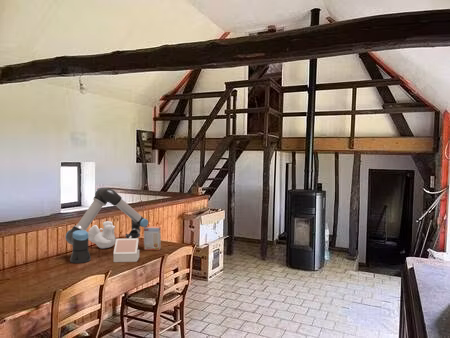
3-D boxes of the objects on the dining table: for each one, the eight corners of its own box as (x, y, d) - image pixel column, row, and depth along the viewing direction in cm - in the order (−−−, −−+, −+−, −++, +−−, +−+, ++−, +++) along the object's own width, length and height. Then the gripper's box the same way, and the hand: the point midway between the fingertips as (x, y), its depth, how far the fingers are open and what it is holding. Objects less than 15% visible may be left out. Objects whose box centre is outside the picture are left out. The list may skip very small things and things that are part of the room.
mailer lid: (116, 239, 284) (116, 238, 284) (138, 238, 286) (138, 238, 285) (113, 254, 274) (113, 253, 274) (136, 253, 276) (136, 253, 276)
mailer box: (117, 257, 289) (117, 250, 288) (139, 257, 290) (139, 249, 290) (113, 262, 275) (113, 254, 274) (136, 261, 276) (136, 254, 276)
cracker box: (161, 248, 318) (160, 226, 315) (159, 250, 312) (158, 227, 309) (146, 247, 319) (145, 225, 317) (143, 250, 313) (143, 227, 311)
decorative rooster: (118, 246, 329) (118, 219, 328) (110, 250, 313) (110, 222, 313) (93, 244, 332) (93, 218, 332) (84, 248, 317) (84, 221, 317)
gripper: (141, 237, 315) (137, 243, 292) (126, 237, 314) (121, 244, 291) (141, 229, 315) (137, 234, 292) (126, 229, 314) (121, 235, 290)
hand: (129, 239), depth 291 cm, fingers closed
